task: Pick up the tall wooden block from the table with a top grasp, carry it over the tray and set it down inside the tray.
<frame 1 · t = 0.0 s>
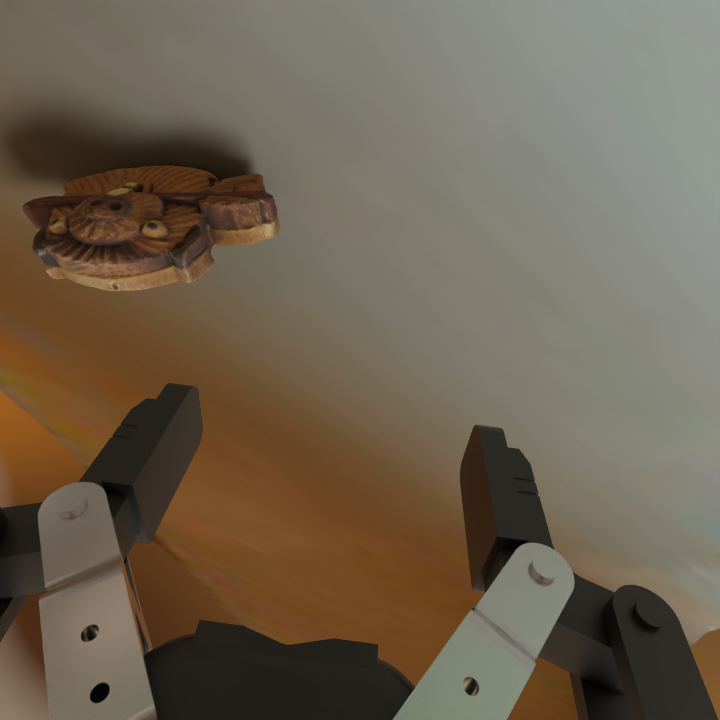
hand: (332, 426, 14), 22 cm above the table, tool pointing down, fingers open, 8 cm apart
wooden carving: (177, 183, 33), on the table
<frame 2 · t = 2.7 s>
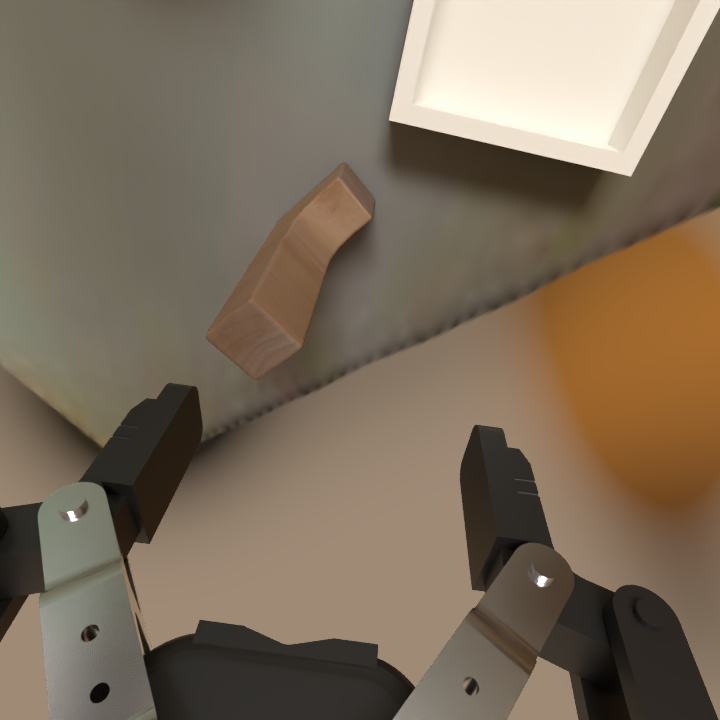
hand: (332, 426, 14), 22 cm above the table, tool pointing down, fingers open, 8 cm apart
wooden block: (325, 210, 33), on the table
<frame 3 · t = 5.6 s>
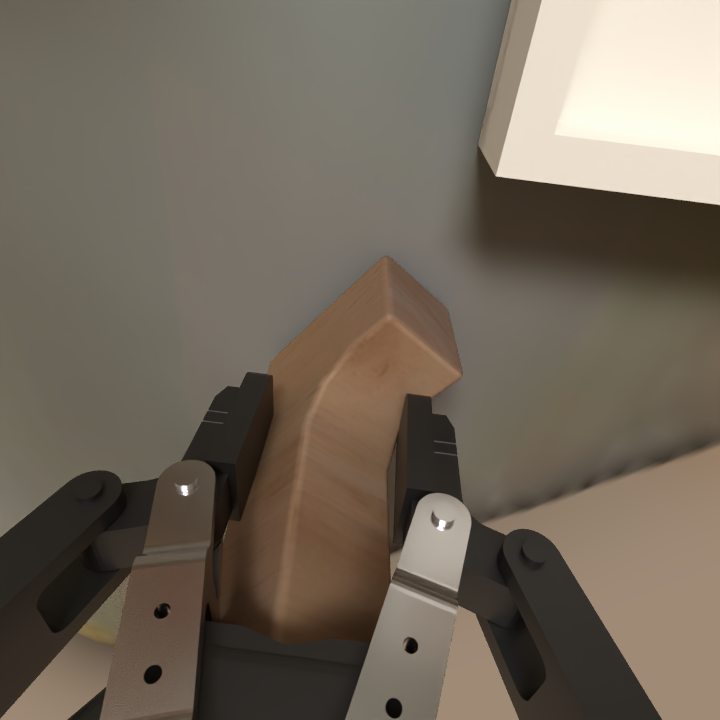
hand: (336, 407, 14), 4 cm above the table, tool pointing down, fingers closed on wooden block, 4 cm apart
wooden block: (355, 333, 18), on the table, touching gripper
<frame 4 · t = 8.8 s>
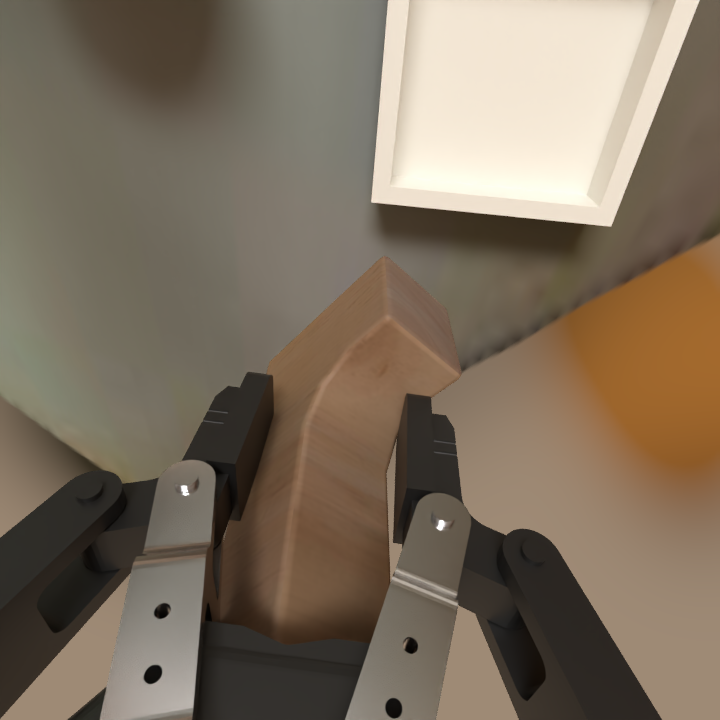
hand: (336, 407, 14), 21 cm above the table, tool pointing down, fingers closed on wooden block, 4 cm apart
tray: (510, 70, 26), on the table
wooden block: (353, 333, 18), point 16 cm above the table, touching gripper
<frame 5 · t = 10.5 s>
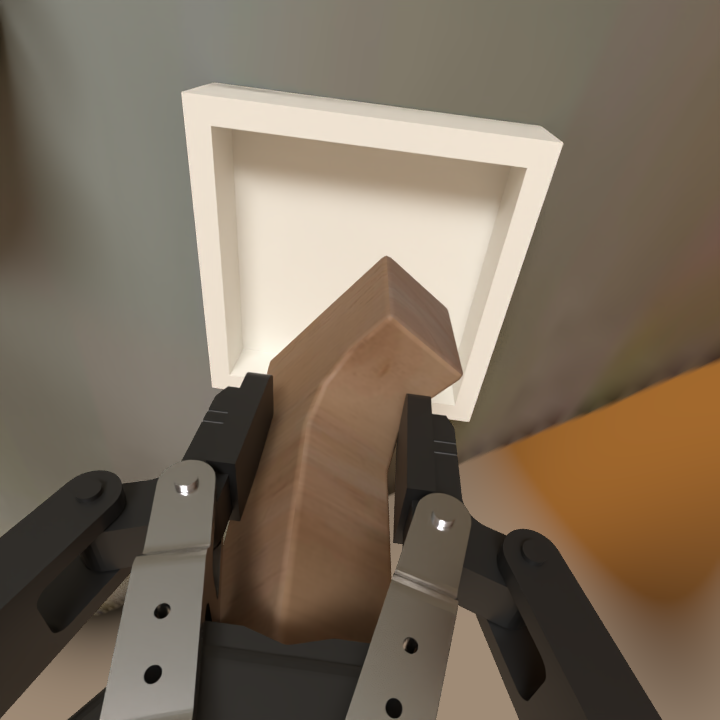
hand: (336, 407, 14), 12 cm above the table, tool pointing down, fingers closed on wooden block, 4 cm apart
tray: (359, 257, 24), on the table
wooden block: (354, 332, 18), point 7 cm above the table, touching gripper
when the fingers open (7 cm above the table, at t = 11.8 s): wooden block drops 1 cm, resting on tray.
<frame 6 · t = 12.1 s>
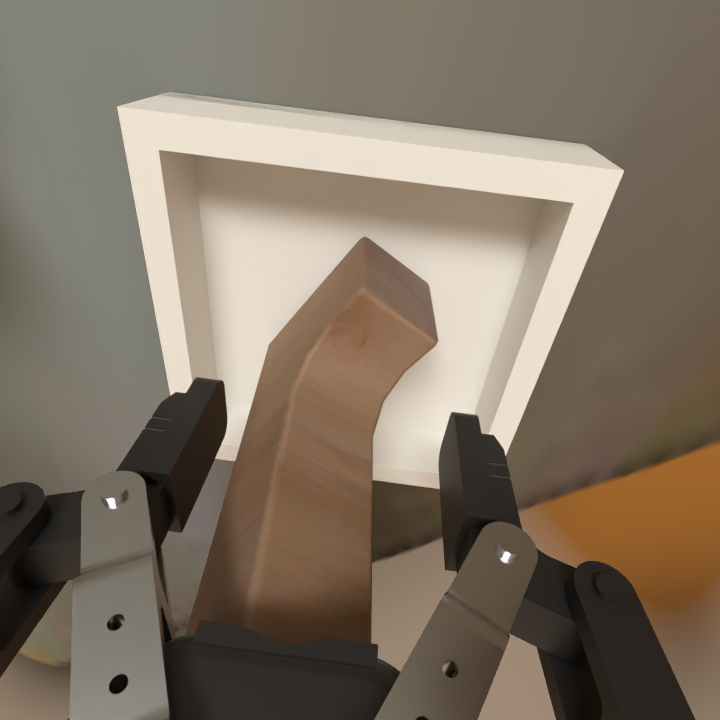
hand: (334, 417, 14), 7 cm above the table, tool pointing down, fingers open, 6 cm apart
tray: (356, 301, 20), on the table
wooden block: (344, 312, 19), point 1 cm above the table, touching tray
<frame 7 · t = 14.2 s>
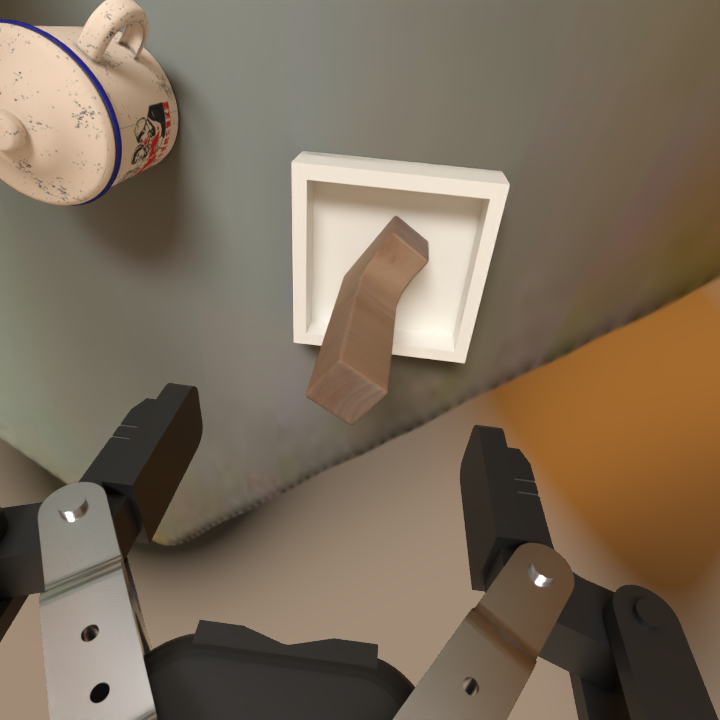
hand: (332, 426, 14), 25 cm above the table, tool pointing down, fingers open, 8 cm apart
tray: (390, 254, 37), on the table
wooden block: (384, 258, 36), point 1 cm above the table, touching tray
teacup with lid: (130, 85, 32), on the table
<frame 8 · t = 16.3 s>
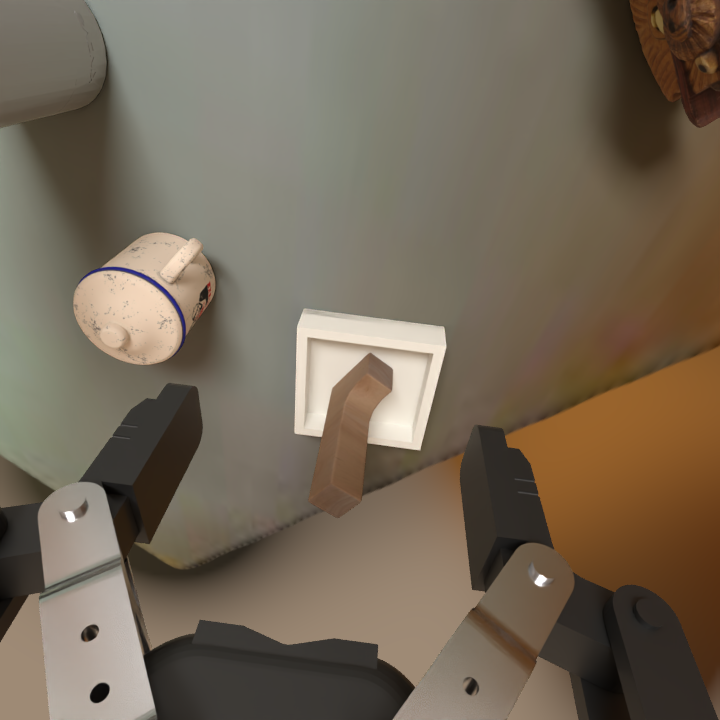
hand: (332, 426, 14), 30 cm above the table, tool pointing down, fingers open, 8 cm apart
tray: (366, 373, 50), on the table
wooden block: (362, 377, 50), point 1 cm above the table, touching tray
teacup with lid: (181, 263, 45), on the table
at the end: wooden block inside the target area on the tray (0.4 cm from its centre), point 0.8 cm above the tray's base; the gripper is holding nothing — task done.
